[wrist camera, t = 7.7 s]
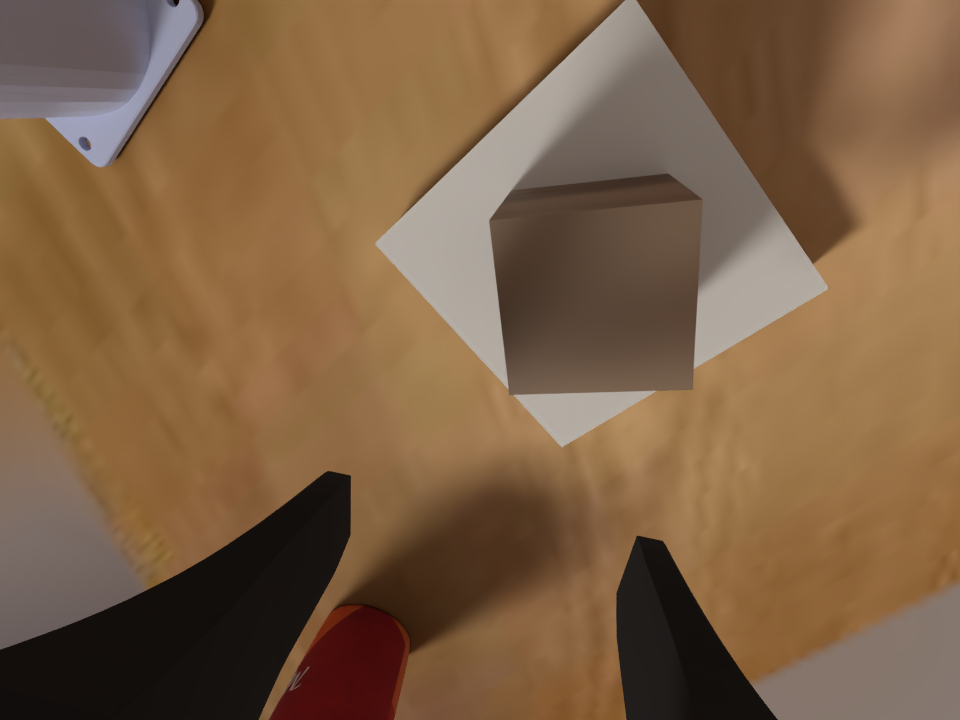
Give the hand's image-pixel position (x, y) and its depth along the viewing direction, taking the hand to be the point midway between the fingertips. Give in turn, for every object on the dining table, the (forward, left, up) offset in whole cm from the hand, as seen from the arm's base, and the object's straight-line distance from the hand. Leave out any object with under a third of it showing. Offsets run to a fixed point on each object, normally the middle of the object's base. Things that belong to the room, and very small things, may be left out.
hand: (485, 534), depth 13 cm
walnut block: (-2, +5, -8) cm, 10 cm away
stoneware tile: (-2, +5, -10) cm, 12 cm away
